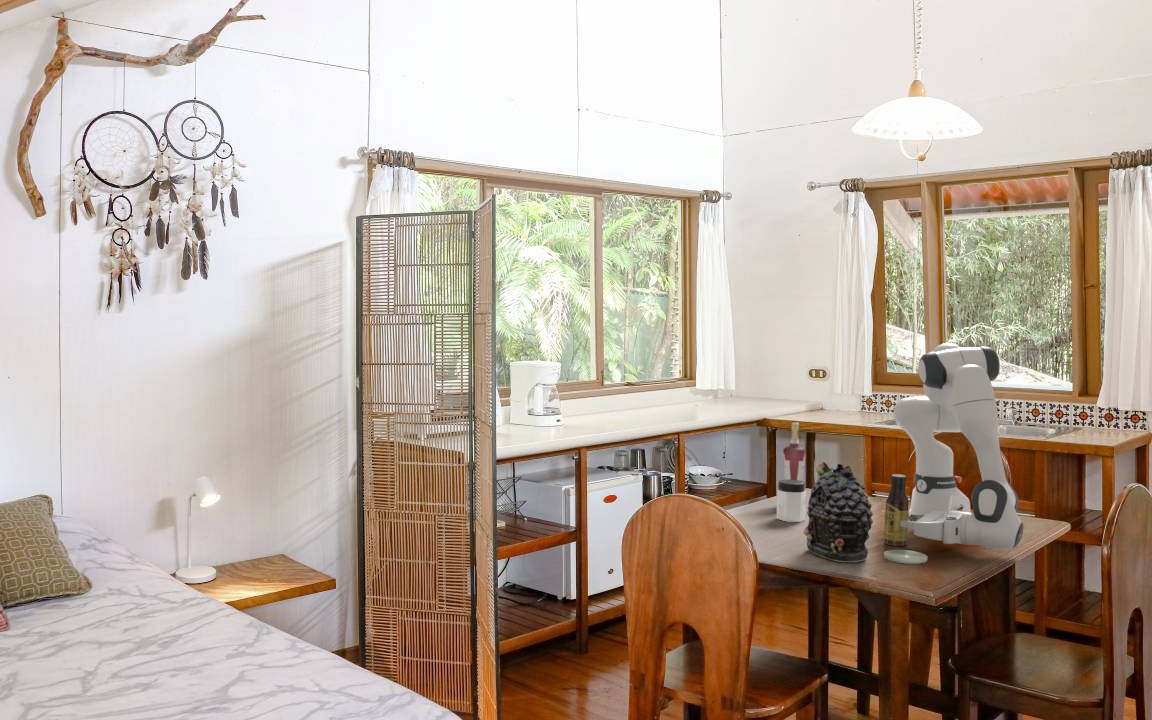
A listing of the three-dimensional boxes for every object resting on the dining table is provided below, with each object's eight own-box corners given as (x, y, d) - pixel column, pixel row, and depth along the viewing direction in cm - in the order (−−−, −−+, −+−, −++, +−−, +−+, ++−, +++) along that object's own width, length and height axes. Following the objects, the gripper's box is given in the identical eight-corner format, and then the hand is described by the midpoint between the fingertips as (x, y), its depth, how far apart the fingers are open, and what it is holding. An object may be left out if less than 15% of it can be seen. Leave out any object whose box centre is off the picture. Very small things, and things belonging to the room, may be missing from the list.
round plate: (903, 551, 263) (903, 547, 263) (936, 560, 254) (936, 557, 254) (875, 556, 258) (875, 552, 258) (908, 566, 248) (908, 562, 248)
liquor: (804, 508, 319) (806, 424, 318) (781, 506, 321) (784, 423, 319) (803, 503, 327) (805, 422, 325) (781, 502, 328) (783, 421, 327)
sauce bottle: (880, 541, 274) (882, 472, 273) (901, 541, 275) (904, 473, 274) (889, 547, 268) (891, 477, 267) (911, 547, 268) (913, 477, 267)
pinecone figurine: (790, 549, 265) (792, 459, 263) (834, 544, 271) (836, 456, 269) (840, 568, 246) (843, 471, 244) (886, 562, 252) (889, 468, 250)
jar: (771, 517, 304) (772, 480, 303) (791, 515, 308) (792, 478, 307) (790, 523, 296) (791, 485, 295) (810, 521, 300) (811, 483, 299)
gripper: (966, 508, 270) (916, 502, 278) (948, 522, 253) (895, 515, 261) (965, 531, 271) (915, 524, 278) (948, 545, 254) (895, 537, 261)
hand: (905, 519), depth 270 cm, fingers open, 8 cm apart
